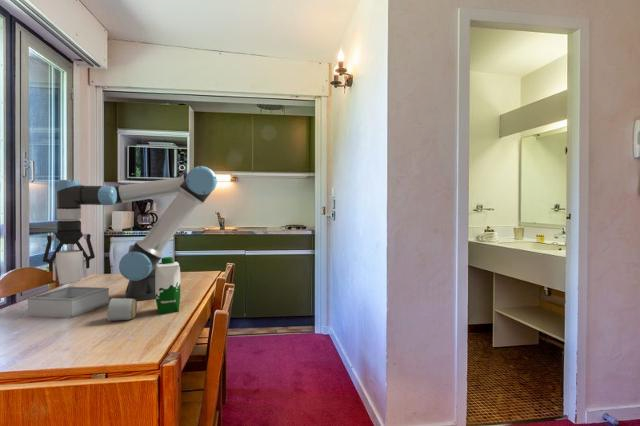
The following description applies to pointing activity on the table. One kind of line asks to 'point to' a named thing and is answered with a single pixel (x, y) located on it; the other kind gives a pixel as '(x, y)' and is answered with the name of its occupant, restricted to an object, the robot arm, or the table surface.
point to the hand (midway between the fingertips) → (69, 278)
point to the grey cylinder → (121, 309)
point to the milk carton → (167, 286)
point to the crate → (68, 302)
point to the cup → (69, 266)
